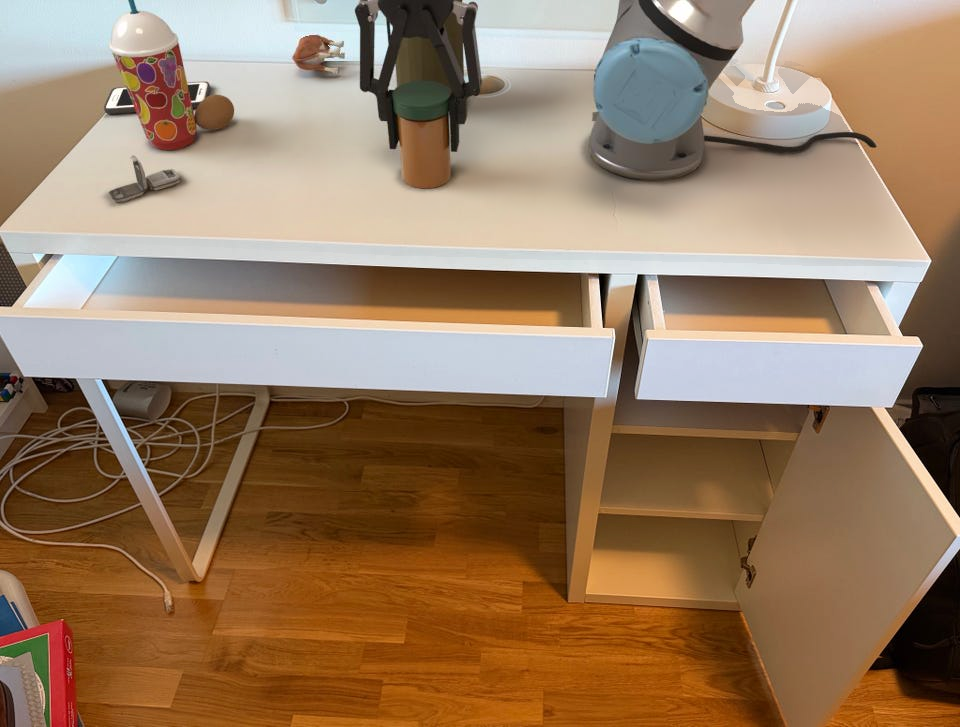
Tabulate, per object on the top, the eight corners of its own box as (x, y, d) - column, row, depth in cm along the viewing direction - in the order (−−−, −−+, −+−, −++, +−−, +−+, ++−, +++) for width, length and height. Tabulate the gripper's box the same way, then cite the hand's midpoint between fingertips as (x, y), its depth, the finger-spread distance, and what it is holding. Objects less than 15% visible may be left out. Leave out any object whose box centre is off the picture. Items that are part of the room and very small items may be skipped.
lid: (390, 97, 94) (389, 83, 93) (446, 92, 95) (445, 78, 94) (397, 123, 89) (395, 108, 87) (456, 117, 90) (455, 103, 88)
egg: (219, 95, 109) (184, 116, 107) (222, 82, 105) (186, 104, 103) (239, 121, 110) (205, 142, 108) (243, 109, 106) (208, 131, 104)
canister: (469, 88, 117) (467, -54, 103) (461, 118, 110) (458, -30, 96) (400, 85, 118) (389, -56, 104) (388, 115, 111) (374, -32, 97)
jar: (456, 166, 100) (454, 89, 93) (443, 191, 95) (439, 112, 88) (411, 160, 101) (405, 84, 94) (395, 185, 97) (388, 106, 89)
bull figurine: (347, 24, 126) (298, 18, 125) (337, 55, 116) (283, 48, 115) (347, 50, 129) (299, 44, 128) (337, 83, 119) (285, 76, 118)
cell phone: (113, 93, 116) (111, 87, 116) (211, 86, 118) (209, 80, 118) (104, 115, 111) (101, 109, 110) (206, 108, 113) (205, 101, 112)
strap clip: (174, 173, 99) (164, 143, 96) (182, 182, 97) (172, 152, 94) (109, 194, 95) (96, 164, 92) (116, 204, 93) (103, 173, 91)
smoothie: (174, 122, 109) (129, -27, 96) (217, 134, 107) (177, -17, 93) (129, 146, 104) (75, -7, 90) (174, 160, 101) (125, 4, 87)
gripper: (509, -63, 81) (505, 134, 97) (328, -68, 83) (353, 128, 99) (504, -42, 76) (501, 163, 92) (310, -47, 77) (340, 156, 93)
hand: (424, 145), depth 95 cm, fingers closed on lid, 7 cm apart
